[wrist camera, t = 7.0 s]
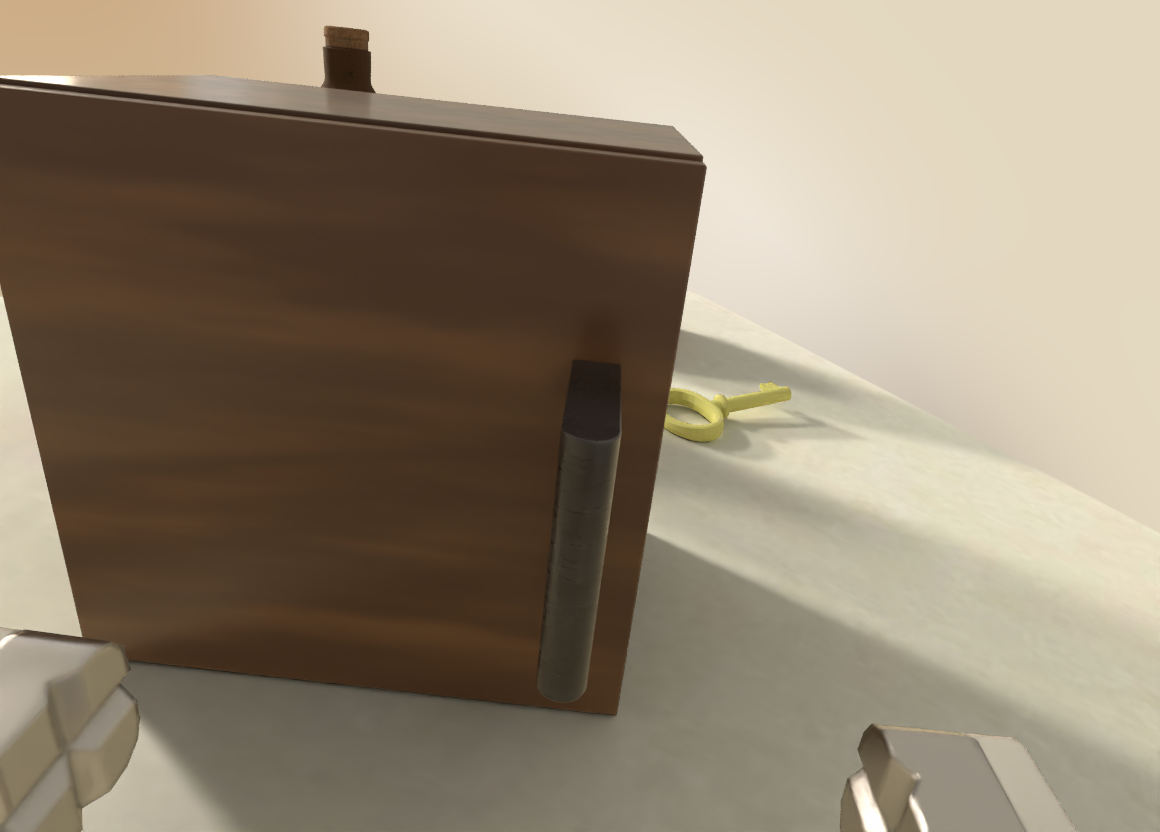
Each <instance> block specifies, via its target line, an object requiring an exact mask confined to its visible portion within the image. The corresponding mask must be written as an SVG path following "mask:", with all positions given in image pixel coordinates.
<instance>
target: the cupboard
mask: <svg viewBox="0 0 1160 832" xmlns="http://www.w3.org/2000/svg"><path fill="white" fill-rule="evenodd" d="M0 84H6V85H15V86H24V87H33V88H42V89H51V90H60V91H69V92H78V93H87V94H96V95H105V96H114V97H123V98H132V99H141V100H150V101H159V102H168V103H177V104H186V105H195V106H204V107H213V108H222V109H231V110H240V111H249V112H258V113H267V114H276V115H285V116H294V117H303V118H312V119H321V120H331V121H340V122H349V123H358V124H367V125H376V126H385V127H394V128H403V129H412V130H421V131H430V132H439V133H448V134H457V135H466V136H475V137H484V138H493V139H502V140H511V141H520V142H529V143H538V144H547V145H556V146H565V147H574V148H583V149H592V150H601V151H610V152H619V153H628V154H637V155H646V156H655V157H664V158H673V159H682V160H691V161H700V162H703V156H702V155H701V154H700V153H699V152H698V151H697V150H696V149H695V148H694V147H693V146H692V145H691V144H690V143H689V142H688V141H687V140H686V139H685V138H684V137H683V136H682V135H681V134H680V133H679V132H678V131H677V130H676V129H675V128H674V127H673V126H666V125H657V124H648V123H639V122H630V121H621V120H612V119H603V118H594V117H584V116H576V115H566V114H558V113H549V112H540V111H530V110H522V109H513V108H504V107H494V106H486V105H477V104H468V103H458V102H449V101H440V100H431V99H421V98H413V97H404V96H395V95H386V94H377V93H368V92H359V91H350V90H341V89H332V88H323V87H314V86H305V85H296V84H286V83H278V82H269V81H260V80H251V79H242V78H232V77H224V76H214V75H208V76H207V75H205V76H204V75H197V76H195V75H194V76H193V75H190V76H0Z"/></svg>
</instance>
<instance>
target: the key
mask: <svg viewBox="0 0 1160 832" xmlns="http://www.w3.org/2000/svg"><path fill="white" fill-rule="evenodd" d="M760 389H761V390H763V391H759V392H754V393H749V394H744V395H739V396H734V397H729V398H726V397H725V396H724V395H721V394H719V395H716V396H715V397H714V400H713V401H709V400H708V399H706V398H705V397H703V396H701V395H699V394H697V393H695V392H692V391H688V390H685V389H679V388H670V394H669V400H668V404H679V405H683V406H686V407H689V408H691V409H693V410H695V411H697V412H698V413H700V414H701V415H703V416H704V417H705V418H707V419H708V420H709V421H710V422H711V423H710V424H707V425H692V424H688V423H684V422H681V421H679V420H676V419H674V418H673V417H671V416H670V415H668V414H667V413H666V418H665V424H664V428H666V429H667V430H669V431H670V432H672V433H674V434H676V435H678V436H681V437H683V438H686V439H689V440H693V441H700V442H705V441H711V440H715V439H717V438H718V437H719V436H720V435H721V434H722V431H723V428H724V421H723V419H724V418H727V416H728V415H729V412H734V411H739V410H744V409H749V408H754V407H759V406H763V405H768V404H773V403H778V402H783V401H788V400H790V399H791V391H790V389H789V388H788V387H787V386H785V387H778V386H777V385H775V384H774V383H772V382H768V384H765V383H762V384H760Z"/></svg>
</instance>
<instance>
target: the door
mask: <svg viewBox="0 0 1160 832" xmlns="http://www.w3.org/2000/svg"><path fill="white" fill-rule="evenodd" d="M706 169H707V167H706V165H705V164H704V163H703V162H700V161H691V160H682V159H673V158H664V157H655V156H646V155H637V154H628V153H619V152H610V151H601V150H592V149H583V148H574V147H565V146H556V145H547V144H538V143H529V142H520V141H511V140H502V139H493V138H484V137H475V136H466V135H457V134H448V133H439V132H430V131H421V130H412V129H403V128H394V127H385V126H376V125H367V124H358V123H349V122H340V121H331V120H321V119H312V118H303V117H294V116H285V115H276V114H267V113H258V112H249V111H240V110H231V109H222V108H213V107H204V106H195V105H186V104H177V103H168V102H159V101H150V100H141V99H132V98H123V97H114V96H105V95H96V94H87V93H78V92H69V91H60V90H51V89H42V88H33V87H24V86H15V85H6V84H0V285H1V290H2V294H3V298H4V303H5V307H6V311H7V316H8V320H9V324H10V328H11V333H12V337H13V341H14V345H15V350H16V354H17V358H18V363H19V367H20V371H21V375H22V380H23V384H24V388H25V392H26V397H27V401H28V405H29V410H30V414H31V418H32V422H33V427H34V431H35V435H36V439H37V444H38V448H39V452H40V457H41V461H42V465H43V469H44V474H45V478H46V482H47V487H48V491H49V495H50V499H51V504H52V508H53V512H54V516H55V521H56V525H57V529H58V534H59V538H60V542H61V546H62V551H63V555H64V559H65V563H66V568H67V572H68V576H69V581H70V585H71V589H72V593H73V598H74V602H75V606H76V611H77V615H78V619H79V623H80V628H81V632H82V636H83V638H90V639H98V640H105V641H112V642H115V643H117V644H120V645H123V646H124V647H125V651H126V654H127V658H128V660H133V661H142V662H150V663H159V664H168V665H177V666H186V667H195V668H203V669H212V670H221V671H230V672H239V673H247V674H256V675H265V676H274V677H283V678H292V679H300V680H309V681H318V682H327V683H336V684H344V685H353V686H362V687H371V688H380V689H389V690H397V691H406V692H415V693H424V694H433V695H442V696H450V697H459V698H468V699H477V700H486V701H494V702H503V703H512V704H521V705H530V706H539V707H547V708H556V709H565V710H574V711H583V712H591V713H600V714H609V715H616V714H617V710H618V704H619V698H620V692H621V686H622V680H623V674H624V668H625V662H626V656H627V649H628V643H629V637H630V631H631V625H632V619H633V613H634V607H635V601H636V595H637V589H638V582H639V576H640V570H641V564H642V558H643V552H644V546H645V540H646V534H647V528H648V522H649V516H650V509H651V503H652V497H653V491H654V485H655V479H656V473H657V467H658V461H659V455H660V449H661V443H662V436H663V430H664V424H665V418H666V412H667V406H668V400H669V394H670V388H671V382H672V376H673V370H674V363H675V357H676V351H677V345H678V339H679V333H680V327H681V321H682V315H683V309H684V303H685V297H686V290H687V283H688V277H689V272H690V266H691V260H692V254H693V248H694V242H695V236H696V230H697V223H698V217H699V211H700V205H701V199H702V193H703V187H704V181H705V175H706Z"/></svg>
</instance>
